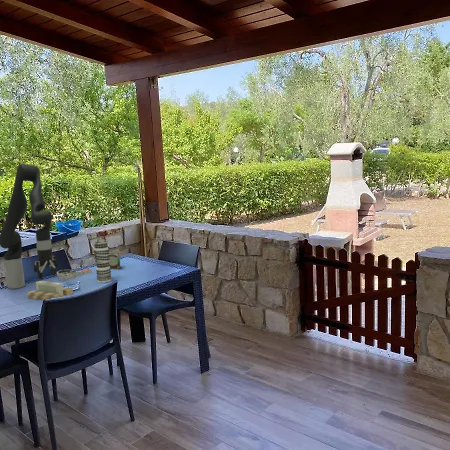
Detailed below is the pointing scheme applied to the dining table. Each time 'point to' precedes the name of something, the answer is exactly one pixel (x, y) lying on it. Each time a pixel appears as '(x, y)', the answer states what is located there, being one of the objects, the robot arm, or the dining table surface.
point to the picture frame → (49, 287)
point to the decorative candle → (102, 261)
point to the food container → (114, 261)
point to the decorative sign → (71, 274)
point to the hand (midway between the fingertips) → (47, 277)
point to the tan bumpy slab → (48, 294)
